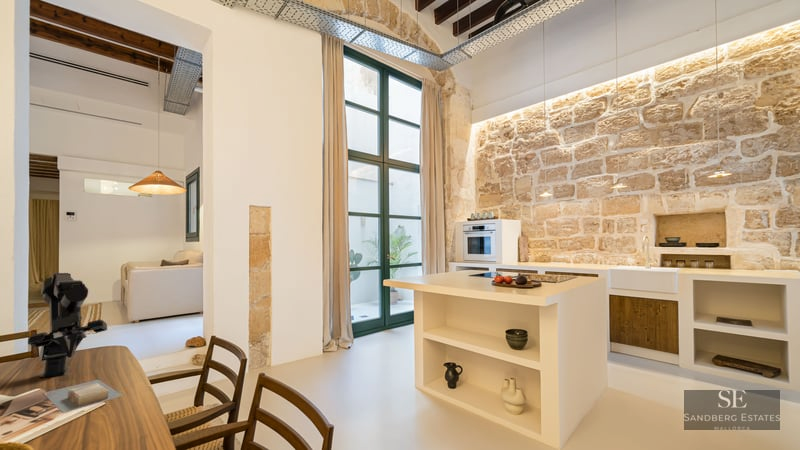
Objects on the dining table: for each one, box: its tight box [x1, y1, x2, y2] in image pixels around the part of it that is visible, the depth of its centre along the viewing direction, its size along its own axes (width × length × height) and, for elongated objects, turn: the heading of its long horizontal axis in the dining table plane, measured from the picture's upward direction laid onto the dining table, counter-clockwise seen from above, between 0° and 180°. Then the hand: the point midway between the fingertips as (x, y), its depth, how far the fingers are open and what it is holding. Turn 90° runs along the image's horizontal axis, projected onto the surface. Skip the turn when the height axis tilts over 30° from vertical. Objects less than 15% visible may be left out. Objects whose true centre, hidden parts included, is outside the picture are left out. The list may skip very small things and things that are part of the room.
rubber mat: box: [45, 379, 124, 414], centre depth 106 cm, size 22×14×1 cm, turn 58°
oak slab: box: [68, 383, 109, 407], centre depth 104 cm, size 3×7×10 cm
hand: (70, 357), depth 111 cm, fingers closed
